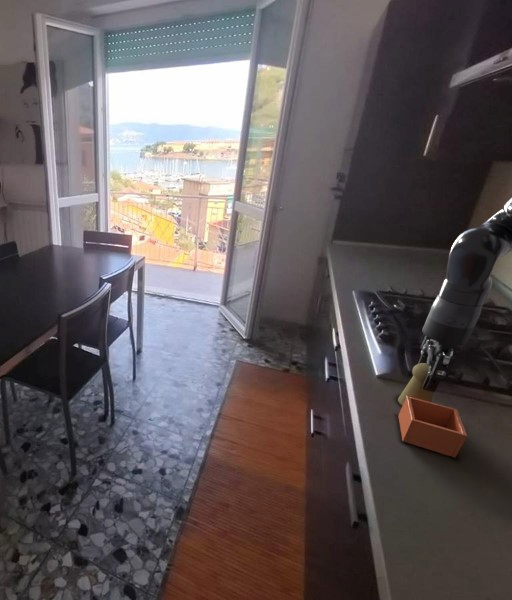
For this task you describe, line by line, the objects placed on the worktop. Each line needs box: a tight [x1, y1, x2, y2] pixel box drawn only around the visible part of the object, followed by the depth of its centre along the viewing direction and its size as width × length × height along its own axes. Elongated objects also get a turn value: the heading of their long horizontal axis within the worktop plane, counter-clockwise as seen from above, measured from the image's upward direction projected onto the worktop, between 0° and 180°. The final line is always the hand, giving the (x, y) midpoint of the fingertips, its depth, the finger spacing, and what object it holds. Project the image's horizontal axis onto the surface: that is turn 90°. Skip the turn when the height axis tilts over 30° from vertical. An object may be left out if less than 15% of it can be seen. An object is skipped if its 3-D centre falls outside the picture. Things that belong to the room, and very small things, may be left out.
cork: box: [397, 363, 440, 407], centre depth 83 cm, size 6×6×11 cm
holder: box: [397, 396, 468, 459], centre depth 76 cm, size 9×9×6 cm
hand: (424, 379), depth 82 cm, fingers open, 8 cm apart
